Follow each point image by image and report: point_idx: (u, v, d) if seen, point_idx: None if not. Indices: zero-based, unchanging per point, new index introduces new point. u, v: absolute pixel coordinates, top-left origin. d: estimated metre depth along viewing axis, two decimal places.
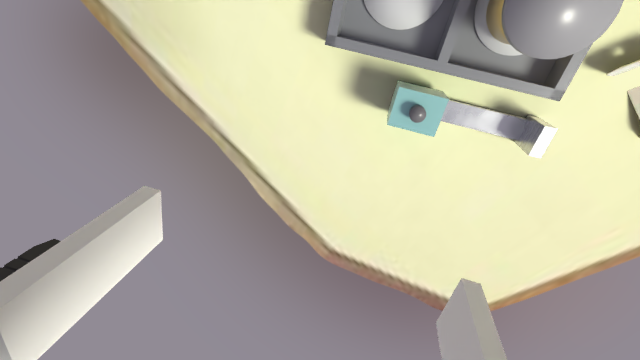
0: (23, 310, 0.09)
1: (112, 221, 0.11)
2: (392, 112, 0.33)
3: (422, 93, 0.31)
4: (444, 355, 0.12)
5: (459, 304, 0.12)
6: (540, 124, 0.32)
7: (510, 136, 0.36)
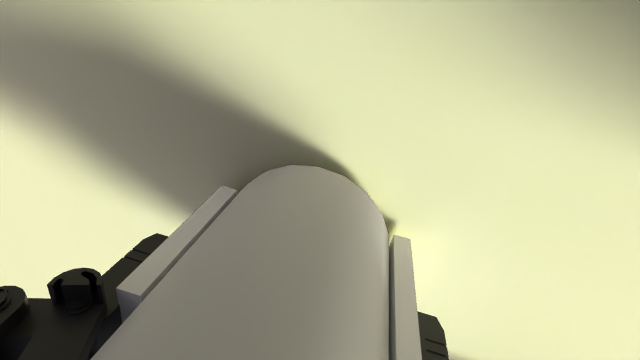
0: None
1: (206, 217, 0.13)
2: None
3: None
4: None
5: (389, 256, 0.14)
6: None
7: None
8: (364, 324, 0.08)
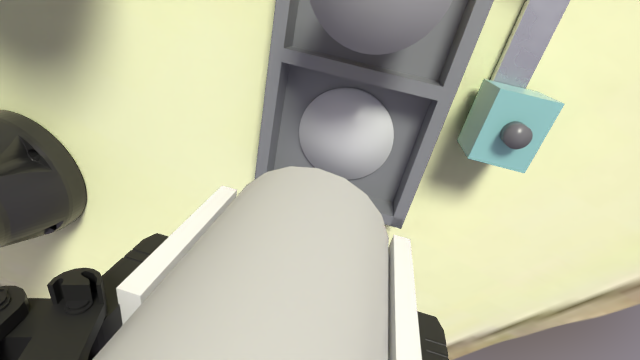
0: None
1: (206, 217, 0.13)
2: (505, 166, 0.22)
3: (483, 127, 0.21)
4: None
5: (389, 256, 0.14)
6: None
7: None
8: (364, 327, 0.08)
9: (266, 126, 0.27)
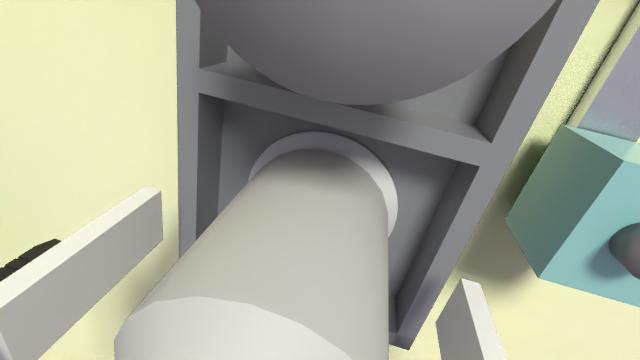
0: (24, 310, 0.09)
1: (112, 221, 0.11)
2: (611, 296, 0.12)
3: (576, 228, 0.11)
4: (444, 355, 0.12)
5: (459, 304, 0.12)
6: None
7: None
8: (369, 268, 0.10)
9: (187, 194, 0.16)
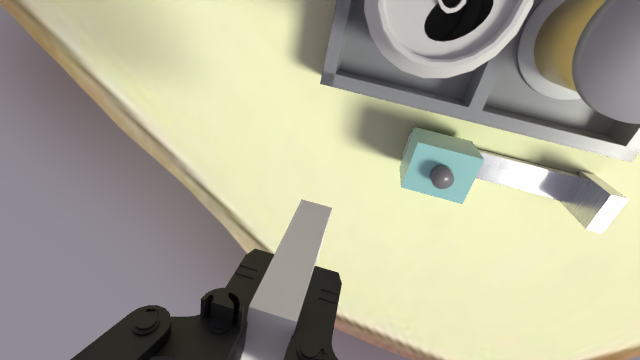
0: None
1: (301, 233, 0.13)
2: (408, 172, 0.25)
3: (448, 151, 0.24)
4: None
5: None
6: (603, 190, 0.24)
7: (557, 197, 0.28)
8: None
9: None
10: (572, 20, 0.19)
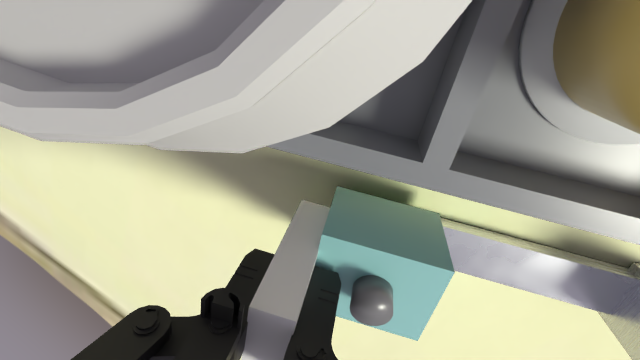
0: None
1: (301, 233, 0.13)
2: None
3: (383, 253, 0.12)
4: None
5: None
6: None
7: (591, 305, 0.16)
8: None
9: None
10: None
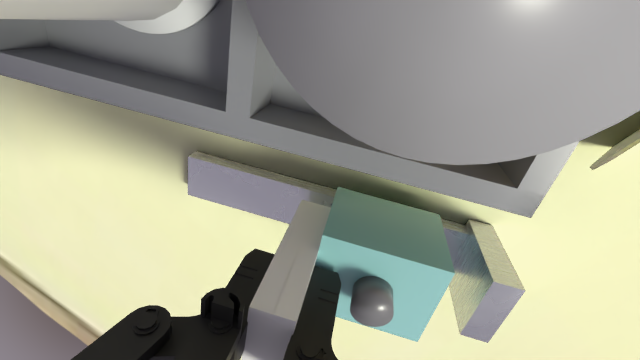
0: None
1: (301, 233, 0.13)
2: None
3: (383, 254, 0.12)
4: None
5: None
6: (485, 266, 0.13)
7: None
8: None
9: None
10: None
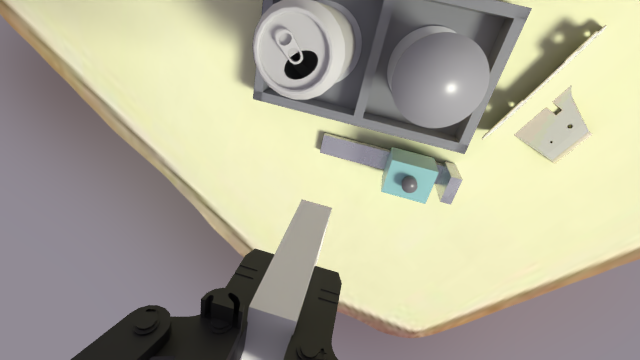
0: None
1: (301, 233, 0.13)
2: (386, 181, 0.35)
3: (413, 166, 0.34)
4: None
5: None
6: (449, 173, 0.35)
7: None
8: None
9: None
10: None
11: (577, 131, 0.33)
